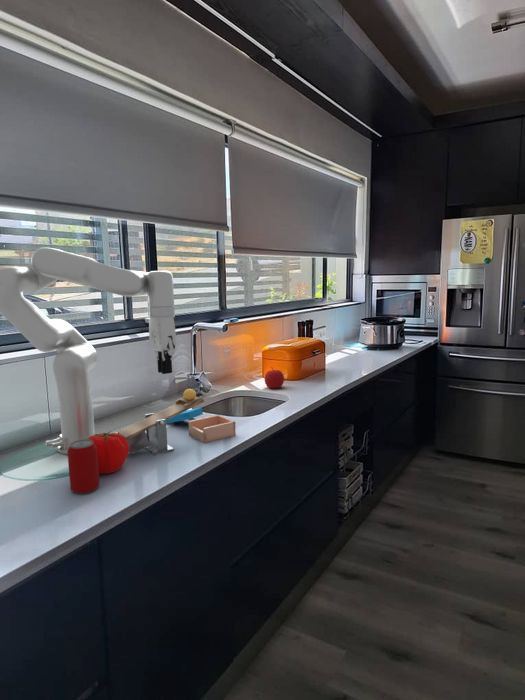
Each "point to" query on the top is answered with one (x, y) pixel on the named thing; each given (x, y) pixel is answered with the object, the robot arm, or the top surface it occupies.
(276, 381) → the apple
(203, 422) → the dish
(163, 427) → the fulcrum
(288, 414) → the top surface
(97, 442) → the tomato
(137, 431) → the lever
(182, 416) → the blue wedge block
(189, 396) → the ball
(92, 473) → the beverage can
